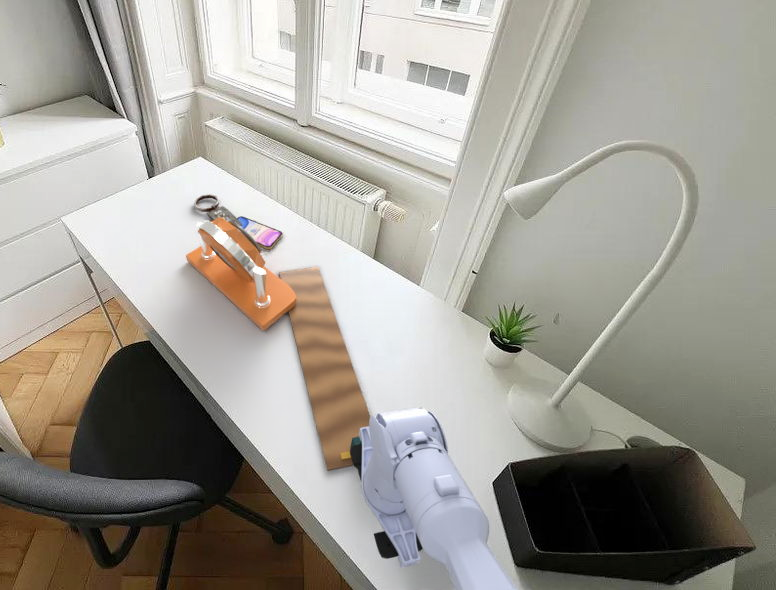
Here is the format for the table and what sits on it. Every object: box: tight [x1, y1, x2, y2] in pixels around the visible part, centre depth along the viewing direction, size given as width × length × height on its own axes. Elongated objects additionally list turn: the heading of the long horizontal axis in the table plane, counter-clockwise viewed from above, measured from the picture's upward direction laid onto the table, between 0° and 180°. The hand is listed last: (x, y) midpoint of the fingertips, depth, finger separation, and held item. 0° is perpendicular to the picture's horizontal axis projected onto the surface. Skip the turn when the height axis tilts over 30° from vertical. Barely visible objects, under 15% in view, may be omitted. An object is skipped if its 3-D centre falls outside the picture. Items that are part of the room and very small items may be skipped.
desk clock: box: [185, 217, 296, 332], centre depth 94 cm, size 12×30×20 cm, turn 43°
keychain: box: [193, 193, 242, 226], centre depth 120 cm, size 8×19×2 cm, turn 36°
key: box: [340, 437, 362, 460], centre depth 68 cm, size 6×2×4 cm, turn 100°
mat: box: [278, 266, 371, 471], centre depth 85 cm, size 45×10×1 cm, turn 10°
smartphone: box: [236, 215, 284, 250], centre depth 113 cm, size 8×15×1 cm, turn 58°
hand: (377, 509), depth 56 cm, fingers open, 7 cm apart
